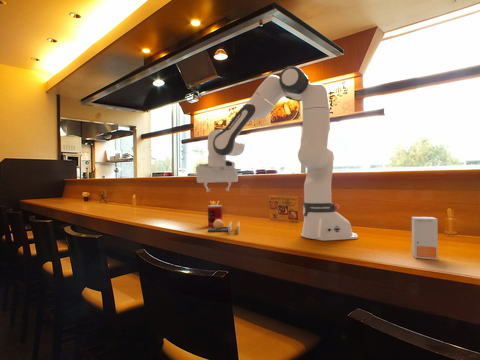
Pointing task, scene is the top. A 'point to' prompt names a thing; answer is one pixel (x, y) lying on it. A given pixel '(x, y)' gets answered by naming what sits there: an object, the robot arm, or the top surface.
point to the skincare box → (425, 237)
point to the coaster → (217, 230)
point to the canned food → (214, 214)
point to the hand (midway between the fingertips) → (217, 191)
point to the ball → (218, 224)
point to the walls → (231, 227)
